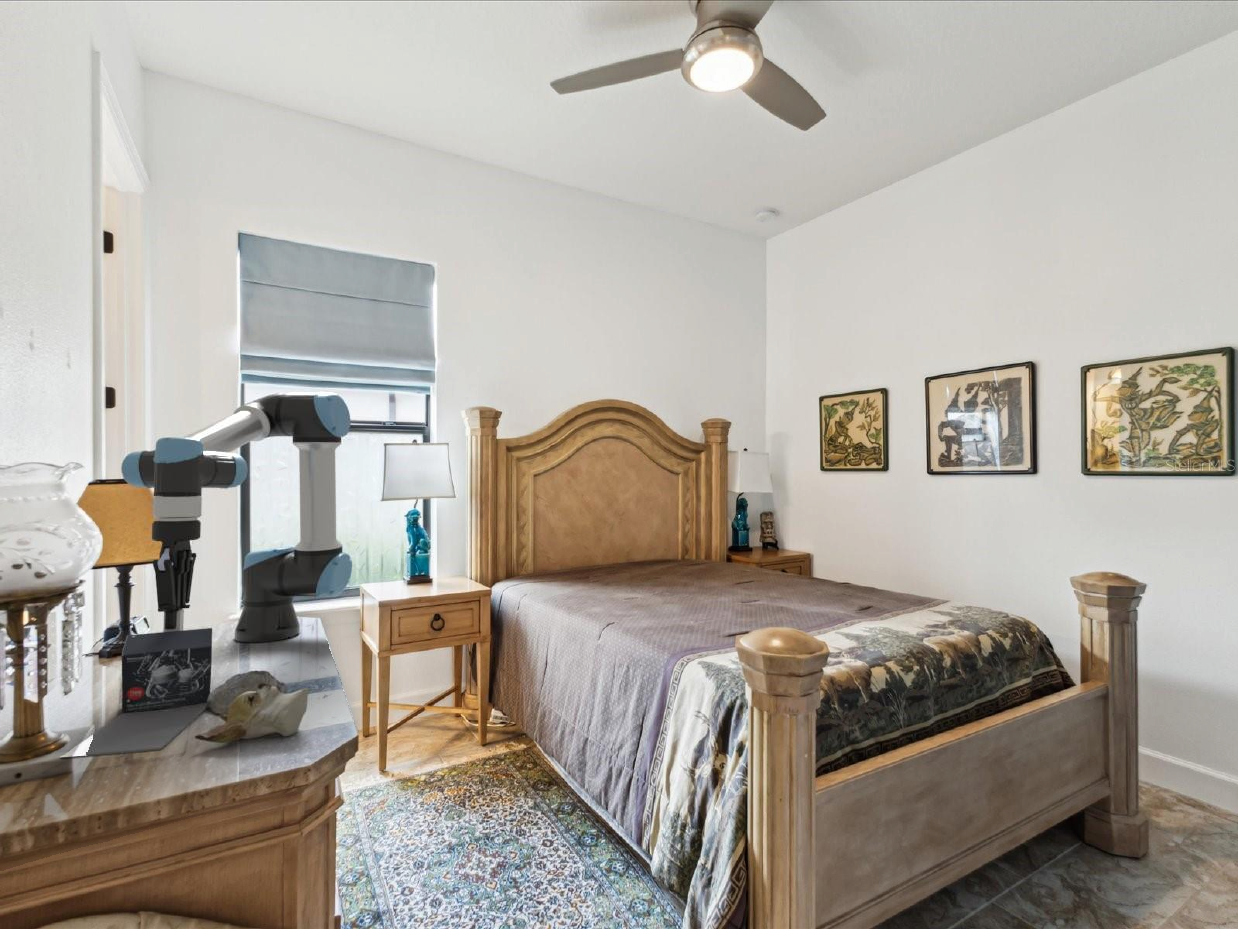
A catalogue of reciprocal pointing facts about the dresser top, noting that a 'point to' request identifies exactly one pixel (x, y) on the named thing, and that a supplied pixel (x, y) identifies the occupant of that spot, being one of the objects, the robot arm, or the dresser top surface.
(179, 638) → the small box
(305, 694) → the ceramic sculpture
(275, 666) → the dresser top surface
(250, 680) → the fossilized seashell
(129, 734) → the mat
